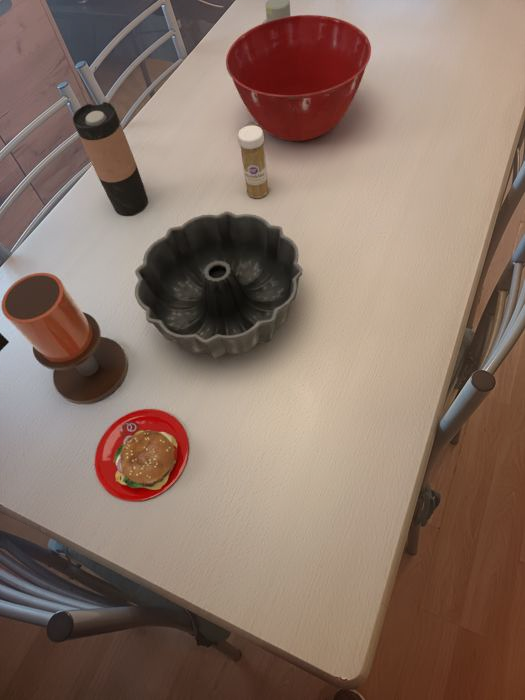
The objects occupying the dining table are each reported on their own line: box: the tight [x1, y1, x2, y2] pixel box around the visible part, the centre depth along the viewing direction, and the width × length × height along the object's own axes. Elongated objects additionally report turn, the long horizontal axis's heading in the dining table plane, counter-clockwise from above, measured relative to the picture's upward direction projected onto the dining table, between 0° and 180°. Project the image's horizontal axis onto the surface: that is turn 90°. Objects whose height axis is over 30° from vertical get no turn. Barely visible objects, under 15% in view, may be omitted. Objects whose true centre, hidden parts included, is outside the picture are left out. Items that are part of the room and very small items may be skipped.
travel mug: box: [72, 101, 149, 217], centre depth 94 cm, size 8×8×20 cm
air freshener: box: [261, 0, 291, 24], centre depth 124 cm, size 11×8×10 cm
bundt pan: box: [134, 210, 303, 360], centre depth 82 cm, size 26×26×10 cm
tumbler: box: [1, 272, 93, 362], centre depth 69 cm, size 8×8×10 cm
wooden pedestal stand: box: [32, 311, 129, 405], centre depth 78 cm, size 12×12×10 cm
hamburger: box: [94, 408, 190, 502], centre depth 71 cm, size 14×14×6 cm
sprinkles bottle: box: [237, 124, 270, 199], centre depth 95 cm, size 5×5×13 cm
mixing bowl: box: [225, 14, 372, 142], centre depth 104 cm, size 28×28×16 cm
